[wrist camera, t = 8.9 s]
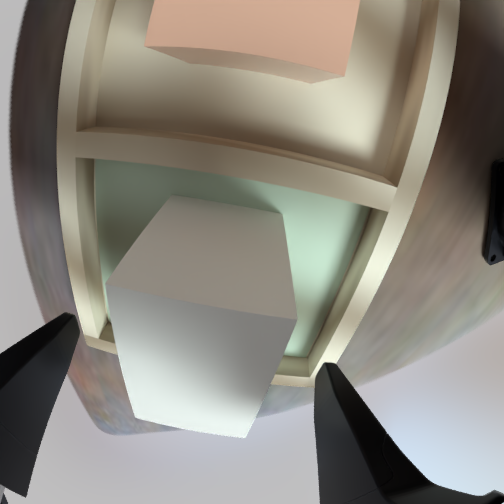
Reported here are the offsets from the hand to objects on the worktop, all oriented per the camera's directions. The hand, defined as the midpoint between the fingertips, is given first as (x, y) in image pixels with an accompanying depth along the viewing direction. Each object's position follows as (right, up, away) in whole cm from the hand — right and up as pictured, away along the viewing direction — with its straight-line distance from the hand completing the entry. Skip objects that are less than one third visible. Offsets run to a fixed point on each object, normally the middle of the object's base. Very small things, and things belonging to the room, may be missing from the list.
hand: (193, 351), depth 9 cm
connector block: (0, +2, +4) cm, 5 cm away
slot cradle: (+1, +8, +2) cm, 8 cm away
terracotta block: (+2, +12, -1) cm, 12 cm away
